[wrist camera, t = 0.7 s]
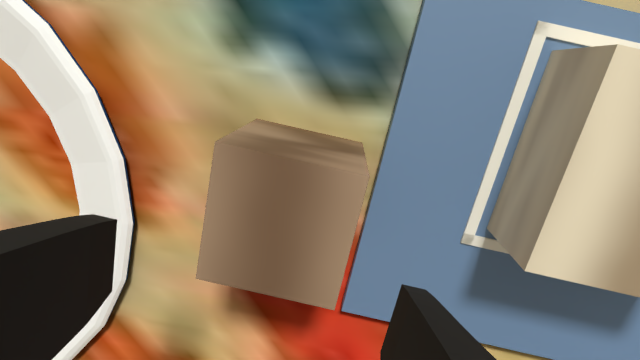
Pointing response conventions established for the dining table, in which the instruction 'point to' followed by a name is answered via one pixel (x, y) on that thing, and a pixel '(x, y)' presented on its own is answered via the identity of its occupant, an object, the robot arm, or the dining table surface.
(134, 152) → the dining table surface
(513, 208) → the birch block
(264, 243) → the walnut block
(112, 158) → the white flat ring
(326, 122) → the dining table surface
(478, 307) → the board
